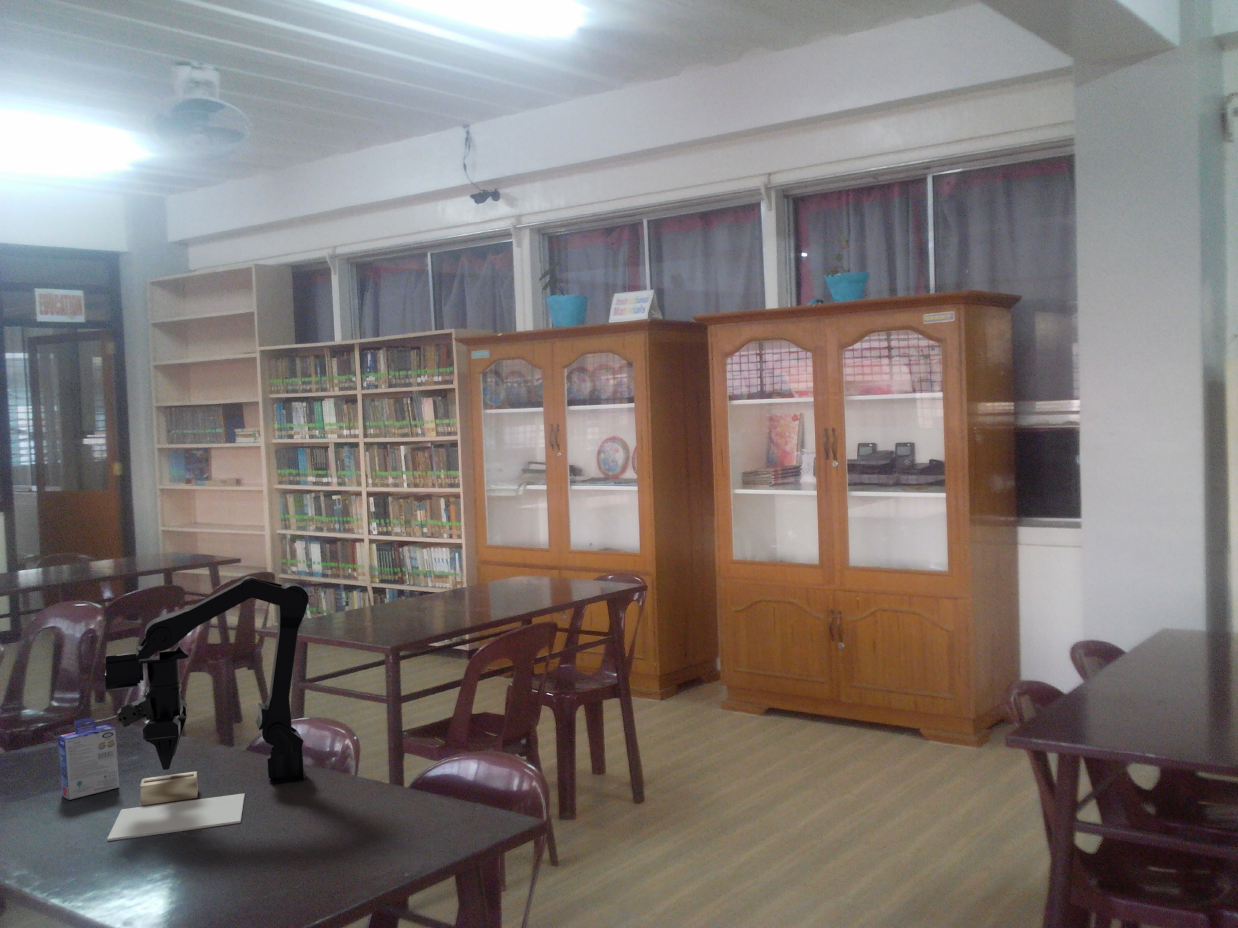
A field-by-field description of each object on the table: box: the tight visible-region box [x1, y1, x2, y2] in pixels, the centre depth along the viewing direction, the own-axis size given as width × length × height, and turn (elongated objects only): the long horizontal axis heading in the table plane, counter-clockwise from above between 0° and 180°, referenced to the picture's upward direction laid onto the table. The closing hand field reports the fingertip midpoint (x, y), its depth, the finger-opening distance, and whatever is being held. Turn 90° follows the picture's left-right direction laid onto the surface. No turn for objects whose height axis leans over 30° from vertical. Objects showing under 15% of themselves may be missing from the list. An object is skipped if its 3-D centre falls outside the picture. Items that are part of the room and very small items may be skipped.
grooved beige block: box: [139, 771, 199, 807], centre depth 211 cm, size 10×5×4 cm, turn 110°
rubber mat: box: [106, 793, 246, 842], centre depth 199 cm, size 22×16×1 cm
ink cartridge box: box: [57, 717, 120, 801], centre depth 217 cm, size 10×6×14 cm, turn 135°
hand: (168, 762), depth 211 cm, fingers open, 9 cm apart
